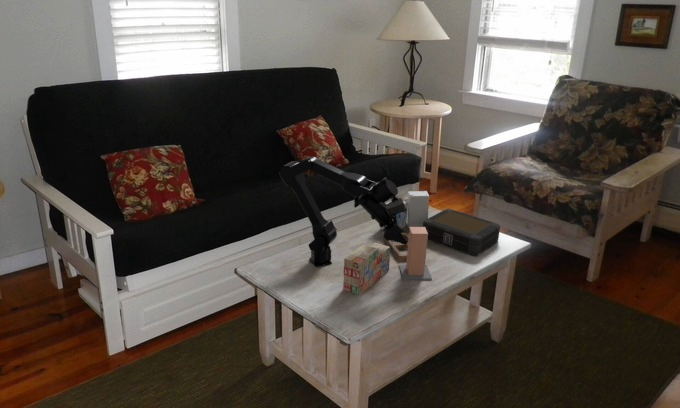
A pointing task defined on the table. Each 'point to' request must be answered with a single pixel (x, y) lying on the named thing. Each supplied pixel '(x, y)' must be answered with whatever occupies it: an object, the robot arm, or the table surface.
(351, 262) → the stack of blocks
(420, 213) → the skincare box
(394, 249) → the walnut rack
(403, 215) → the light bulb box
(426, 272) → the slate mat
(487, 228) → the cash box
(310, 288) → the table surface
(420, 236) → the terracotta block
